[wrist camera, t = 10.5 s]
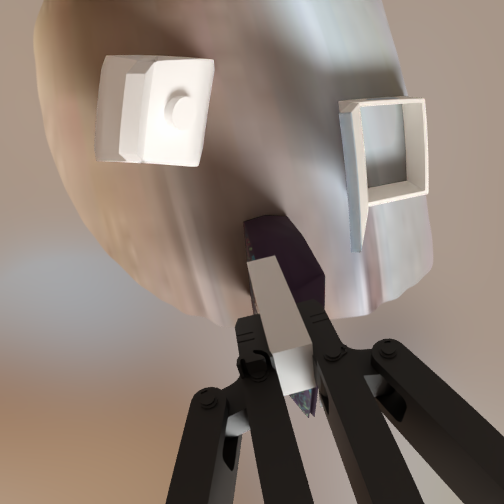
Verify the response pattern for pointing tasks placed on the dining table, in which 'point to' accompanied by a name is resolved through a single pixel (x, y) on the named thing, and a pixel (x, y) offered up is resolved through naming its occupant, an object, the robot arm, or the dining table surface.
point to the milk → (153, 109)
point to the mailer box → (414, 149)
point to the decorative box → (287, 272)
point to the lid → (355, 173)
